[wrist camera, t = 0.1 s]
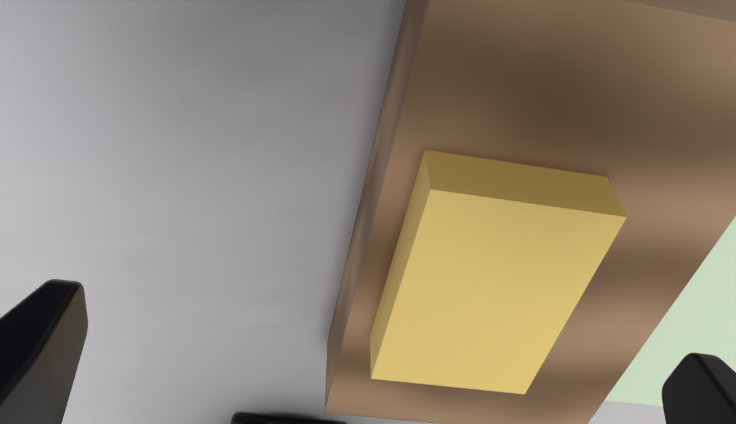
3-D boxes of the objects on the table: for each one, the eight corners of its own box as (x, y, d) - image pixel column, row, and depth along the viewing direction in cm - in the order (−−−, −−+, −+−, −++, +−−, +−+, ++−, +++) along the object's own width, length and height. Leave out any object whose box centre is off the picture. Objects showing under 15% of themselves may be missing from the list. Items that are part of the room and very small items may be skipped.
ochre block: (514, 352, 26) (524, 394, 25) (369, 336, 26) (370, 378, 24) (606, 176, 21) (626, 217, 19) (424, 149, 20) (430, 189, 19)
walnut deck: (557, 366, 34) (578, 436, 31) (327, 341, 32) (324, 412, 29) (784, -10, 21) (857, 45, 18) (425, -81, 20) (438, -34, 17)
